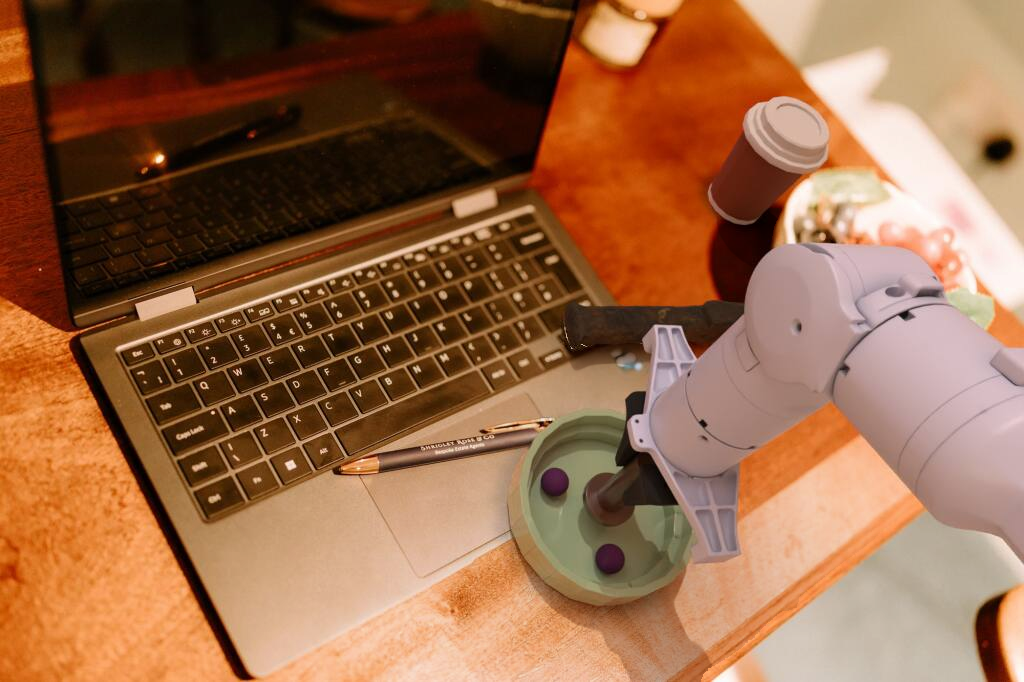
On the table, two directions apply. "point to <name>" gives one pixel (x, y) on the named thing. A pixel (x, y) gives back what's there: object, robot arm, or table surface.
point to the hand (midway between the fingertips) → (632, 480)
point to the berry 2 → (610, 558)
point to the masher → (612, 493)
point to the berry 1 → (554, 482)
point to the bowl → (573, 533)
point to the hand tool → (647, 322)
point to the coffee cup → (769, 158)
